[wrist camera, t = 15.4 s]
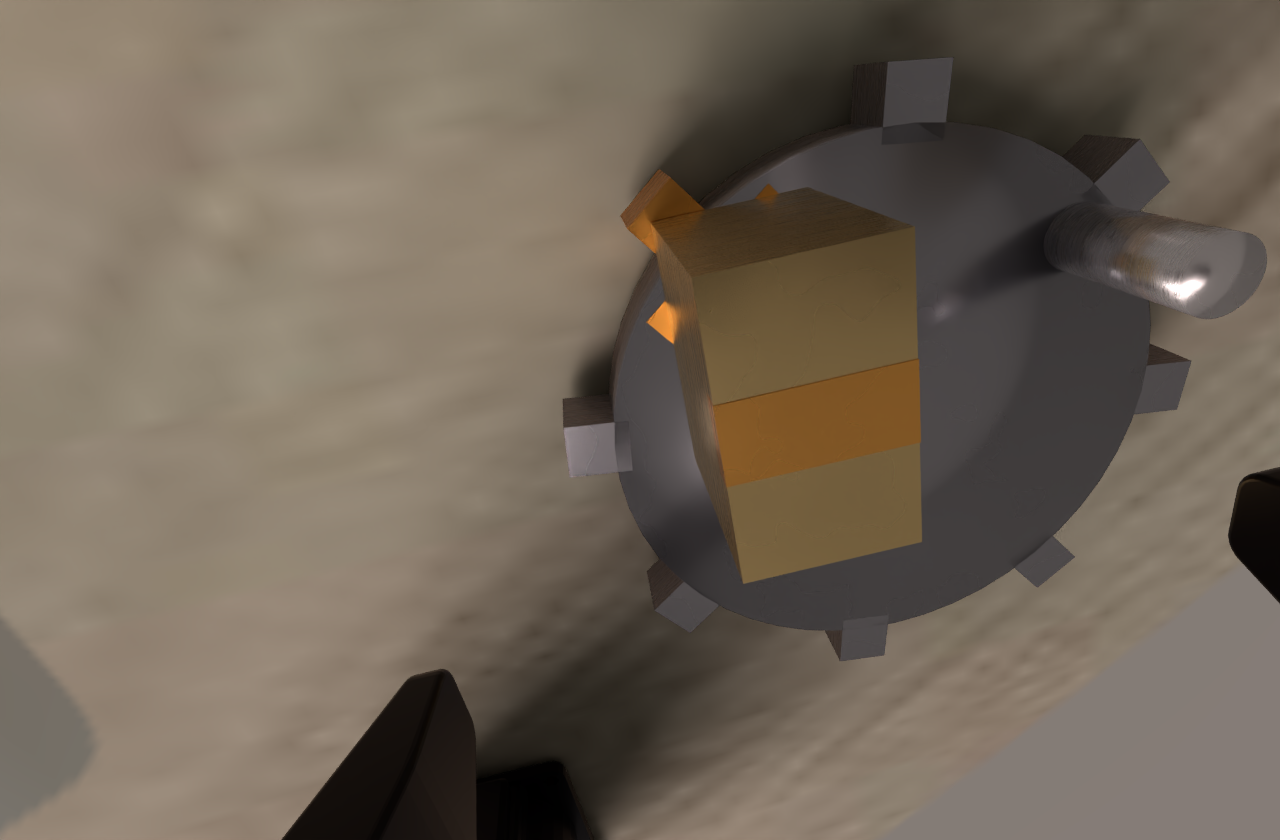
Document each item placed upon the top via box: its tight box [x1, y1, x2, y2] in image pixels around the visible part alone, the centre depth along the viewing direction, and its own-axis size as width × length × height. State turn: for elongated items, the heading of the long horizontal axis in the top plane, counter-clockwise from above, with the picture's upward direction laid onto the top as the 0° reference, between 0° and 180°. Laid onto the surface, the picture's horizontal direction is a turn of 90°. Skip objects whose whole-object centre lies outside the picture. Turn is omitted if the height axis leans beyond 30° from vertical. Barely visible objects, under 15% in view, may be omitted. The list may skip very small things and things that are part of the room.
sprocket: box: [563, 57, 1267, 661], centre depth 17 cm, size 16×16×6 cm
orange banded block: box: [650, 187, 922, 584], centre depth 14 cm, size 6×4×5 cm, turn 11°
